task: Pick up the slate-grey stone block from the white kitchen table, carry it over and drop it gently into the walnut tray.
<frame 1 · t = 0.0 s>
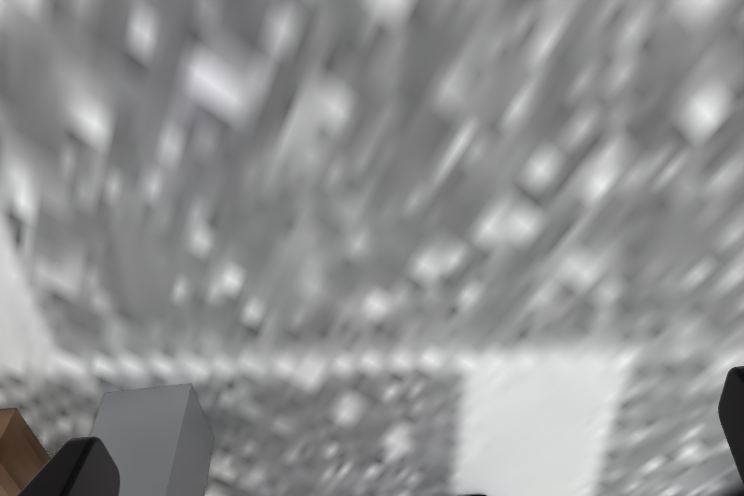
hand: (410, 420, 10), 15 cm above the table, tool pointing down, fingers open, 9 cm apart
slate stone block: (161, 415, 32), on the table
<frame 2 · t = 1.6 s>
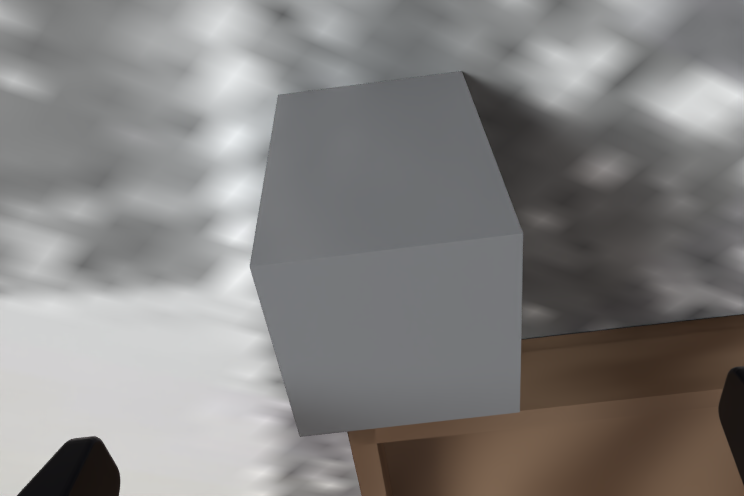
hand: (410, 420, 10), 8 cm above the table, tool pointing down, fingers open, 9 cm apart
walnut tray: (627, 448, 23), on the table
slate stone block: (379, 162, 16), on the table
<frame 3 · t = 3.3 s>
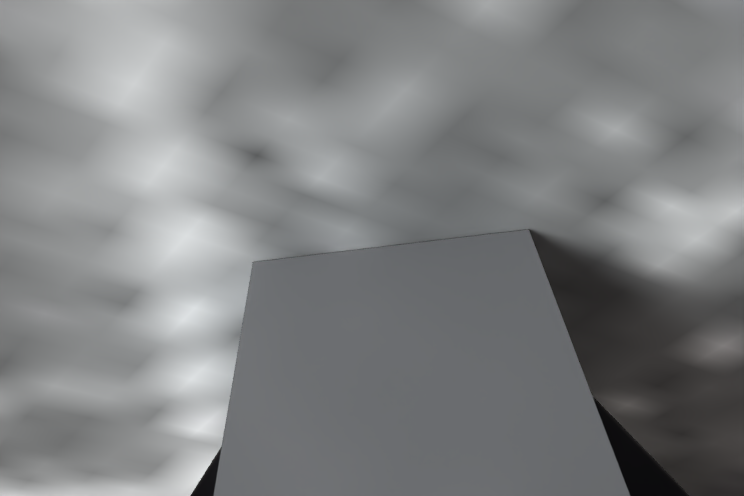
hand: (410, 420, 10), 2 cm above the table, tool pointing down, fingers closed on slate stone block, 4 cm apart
slate stone block: (402, 343, 11), on the table, touching gripper
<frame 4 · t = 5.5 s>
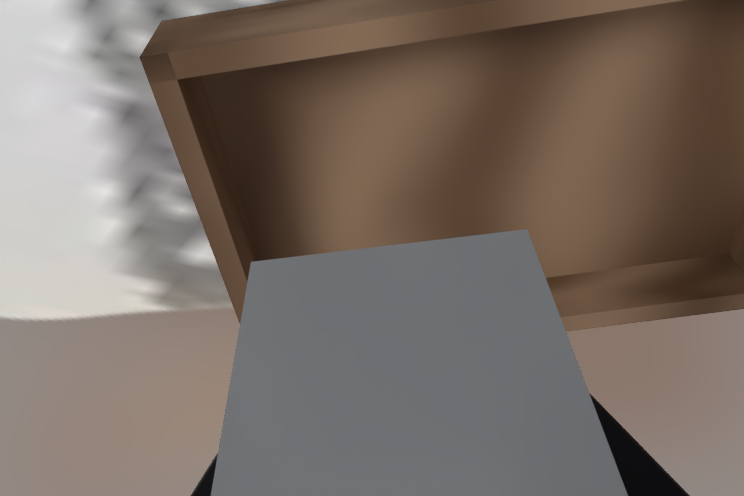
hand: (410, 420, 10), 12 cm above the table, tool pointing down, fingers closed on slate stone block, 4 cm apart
walnut tray: (490, 155, 21), on the table
slate stone block: (400, 343, 11), point 11 cm above the table, touching gripper
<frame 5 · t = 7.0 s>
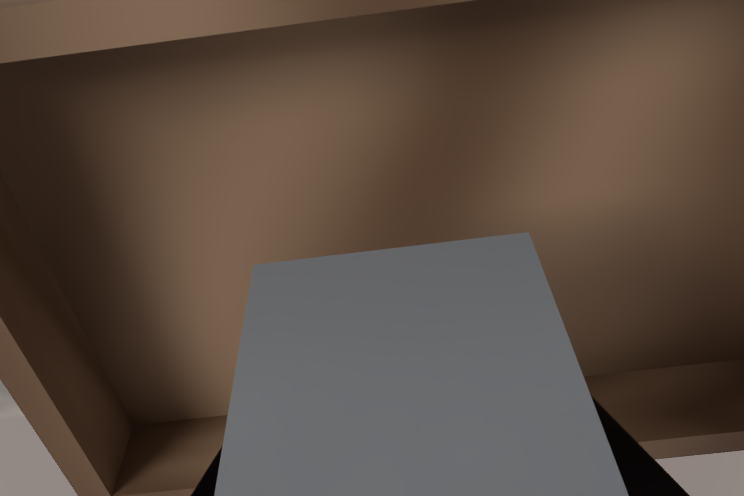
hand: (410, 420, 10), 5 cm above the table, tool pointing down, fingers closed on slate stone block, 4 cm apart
walnut tray: (437, 211, 14), on the table
slate stone block: (402, 346, 11), point 4 cm above the table, touching gripper
when the fingers open (3 cm above the table, at t = 8.1 s): slate stone block drops 1 cm, resting on walnut tray.
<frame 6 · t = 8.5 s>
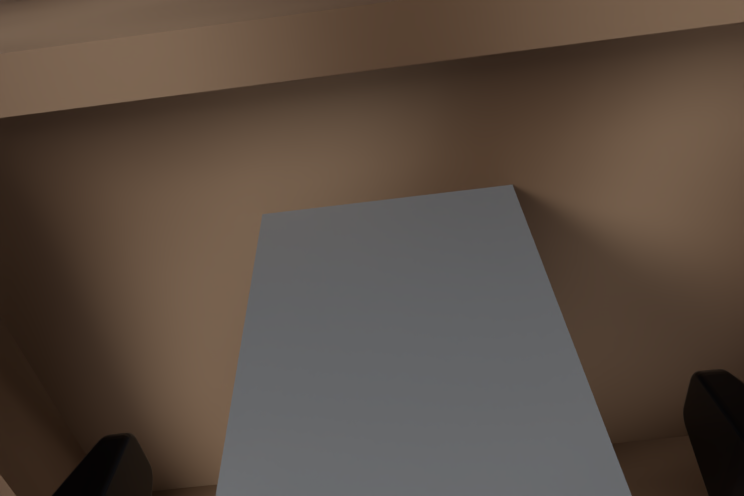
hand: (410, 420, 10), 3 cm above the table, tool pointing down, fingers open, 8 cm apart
walnut tray: (450, 270, 12), on the table
slate stone block: (398, 293, 12), resting on walnut tray
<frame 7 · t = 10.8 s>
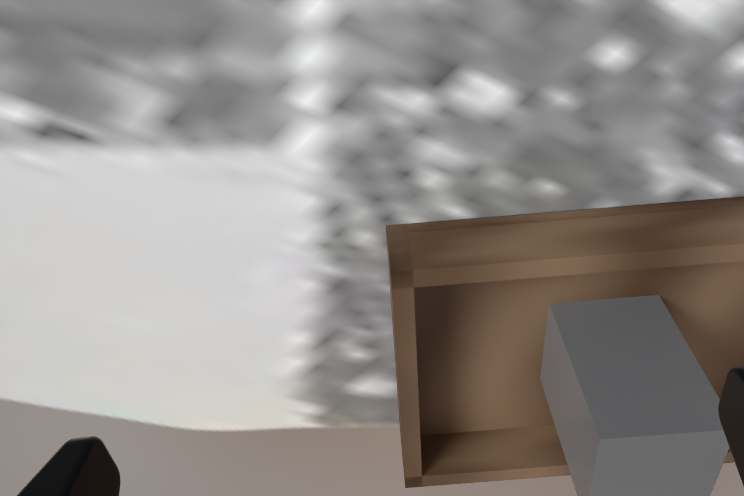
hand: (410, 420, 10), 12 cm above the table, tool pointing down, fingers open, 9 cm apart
walnut tray: (618, 327, 26), on the table
slate stone block: (596, 338, 26), resting on walnut tray
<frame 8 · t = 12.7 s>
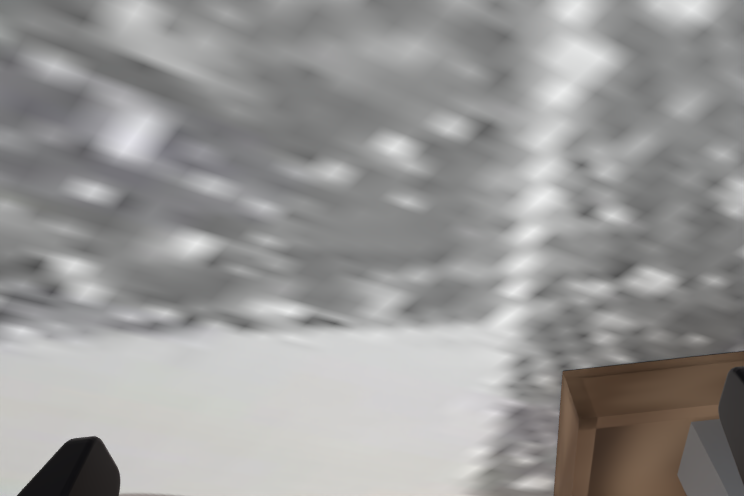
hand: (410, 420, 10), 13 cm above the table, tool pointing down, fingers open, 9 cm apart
slate stone block: (727, 444, 31), resting on walnut tray
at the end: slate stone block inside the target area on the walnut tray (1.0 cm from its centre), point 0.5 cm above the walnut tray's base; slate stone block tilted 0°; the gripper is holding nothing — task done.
